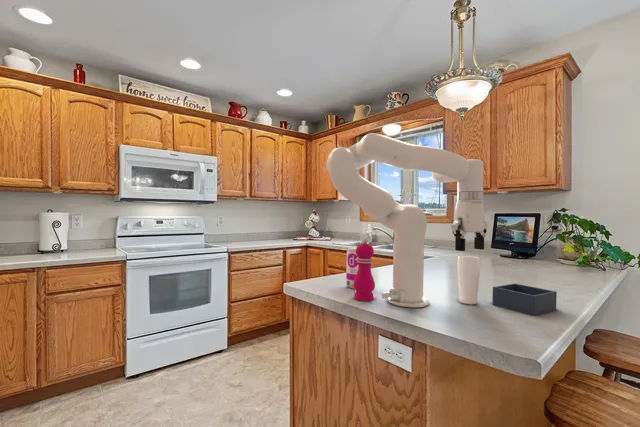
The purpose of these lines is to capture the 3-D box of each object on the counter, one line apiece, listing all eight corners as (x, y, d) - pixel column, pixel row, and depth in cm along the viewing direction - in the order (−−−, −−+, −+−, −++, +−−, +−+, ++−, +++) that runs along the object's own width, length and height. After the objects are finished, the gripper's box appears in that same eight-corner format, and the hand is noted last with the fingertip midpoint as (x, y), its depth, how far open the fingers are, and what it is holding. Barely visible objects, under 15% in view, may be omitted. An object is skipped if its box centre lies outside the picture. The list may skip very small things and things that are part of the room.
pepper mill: (360, 302, 101) (361, 240, 101) (349, 296, 108) (350, 238, 108) (379, 300, 104) (380, 239, 104) (367, 294, 110) (368, 237, 110)
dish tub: (534, 315, 91) (535, 296, 91) (492, 304, 102) (492, 286, 102) (556, 309, 97) (556, 291, 97) (514, 299, 108) (514, 283, 108)
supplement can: (361, 290, 117) (362, 249, 117) (342, 287, 121) (343, 248, 121) (370, 286, 124) (371, 248, 124) (352, 283, 128) (352, 246, 128)
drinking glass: (482, 306, 99) (483, 258, 99) (459, 304, 100) (460, 257, 100) (476, 300, 106) (477, 255, 106) (454, 299, 107) (455, 255, 107)
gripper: (476, 198, 110) (475, 247, 110) (442, 197, 102) (442, 250, 102) (497, 198, 104) (496, 249, 104) (463, 196, 95) (463, 252, 95)
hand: (469, 249), depth 103 cm, fingers open, 9 cm apart
